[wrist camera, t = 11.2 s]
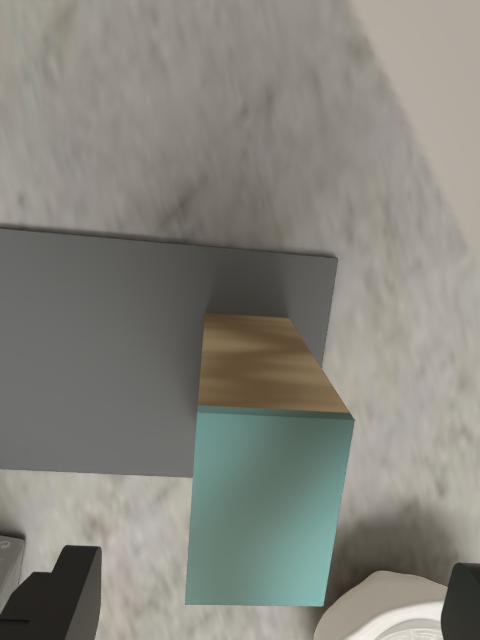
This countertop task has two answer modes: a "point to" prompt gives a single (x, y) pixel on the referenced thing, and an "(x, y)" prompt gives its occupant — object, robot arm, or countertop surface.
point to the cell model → (386, 610)
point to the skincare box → (9, 566)
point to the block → (264, 467)
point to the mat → (128, 343)
